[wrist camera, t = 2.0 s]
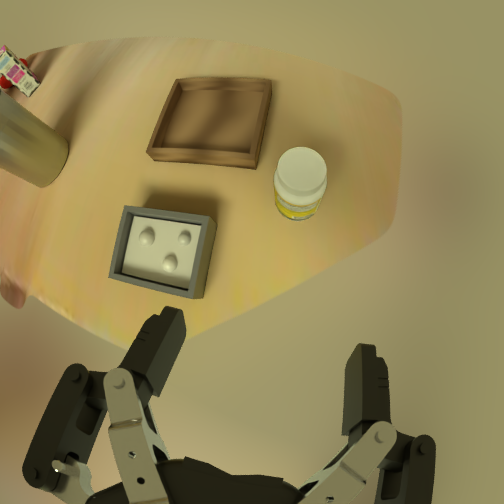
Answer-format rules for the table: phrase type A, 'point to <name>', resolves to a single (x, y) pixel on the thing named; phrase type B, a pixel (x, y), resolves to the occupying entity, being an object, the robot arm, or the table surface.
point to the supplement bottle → (299, 183)
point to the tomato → (5, 82)
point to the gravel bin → (163, 250)
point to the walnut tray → (212, 122)
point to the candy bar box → (17, 72)
